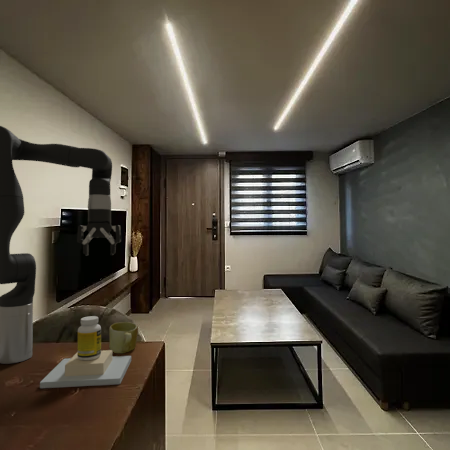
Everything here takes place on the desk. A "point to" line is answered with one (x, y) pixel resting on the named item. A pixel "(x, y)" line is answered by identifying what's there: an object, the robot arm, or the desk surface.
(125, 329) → the mug
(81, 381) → the board
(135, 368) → the desk surface
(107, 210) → the robot arm
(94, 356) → the pill bottle
